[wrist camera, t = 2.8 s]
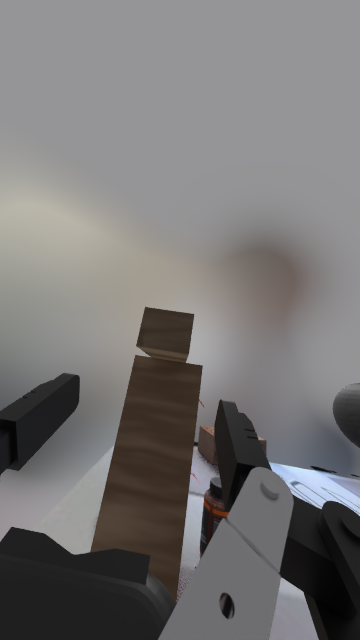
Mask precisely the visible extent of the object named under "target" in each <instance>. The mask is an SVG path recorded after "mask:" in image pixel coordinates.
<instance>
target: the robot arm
mask: <svg viewBox="0 0 360 640" xmlns="http://www.w3.org/2000/svg"><path fill="white" fill-rule="evenodd" d="M79 385H80V378H79V376H78V375H74V374H68V373H63V374H61V375H60V376H58V377H57V378H55V379H54V380H51V381H49V382H46V383H44V384H41V385H39V386H38V387H36V388H34V389H33V390H31V392H29V393H27V394H25V395H24V396H23V397H22V398H20V399H18V400H16V401H15V402H13V403H12V404H11V405H9V406H7V407H6V408H4V409H3V410H1V411H0V475H1V473H3V472H4V471H5V470H6V469H12V470H17V471H19V470H20V469H21V468H22V467H23V466H24V465H25V464H26V462H27V461H28V460H29V459H30V458H31V457H32V456H33V455H34V454H35V453H36V452H37V451H38V450H39V449H40V447H41V446H42V445H43V444H44V443H45V442H46V441H47V440H48V439H49V438H50V437H51V436H52V435H53V434H54V432H55V431H56V430H57V429H58V428H59V427H60V426H61V425H62V424H63V423H64V422H65V421H66V419H67V418H68V417H69V416H70V415H71V414H72V413H73V412H74V411H75V409H76V408H77V405H78V403H79V387H80V386H79ZM333 414H334V418H335V420H336V423H337V424H338V426H339V428H340V430H341V431H342V432H343V434H344V435H345V436H346V437H347V438H348V439H349V440H350V441H351V442H352V443H354V444H355V445H356V446H357V447H359V448H360V383H356V384H351V385H349V386H347V387H345V388H343V389H342V390H341V391H340V392H339V393H338V394H337V396H336V397H335V400H334V403H333ZM214 438H215V445H216V452H217V459H218V466H219V473H220V480H221V488H222V495H223V502H224V509H225V512H229V514H228V516H227V518H225V517H224V518H223V519H222V520H221V522H220V524H219V526H218V527H217V529H216V531H215V533H214V535H213V537H212V539H211V541H210V542H209V544H208V546H207V548H206V550H205V552H204V554H203V556H202V558H201V559H200V561H199V563H198V565H197V567H196V569H195V571H194V573H193V575H192V576H191V578H190V580H189V582H188V584H187V586H186V588H185V590H184V592H183V593H182V595H181V597H180V599H179V601H178V603H177V604H176V603H175V601H174V599H173V597H172V596H171V594H170V592H169V591H168V590H167V589H166V587H165V586H164V585H163V583H162V582H161V581H160V580H159V579H158V578H157V577H156V576H154V575H153V574H152V573H150V572H149V571H148V568H149V562H150V555H146V554H141V553H136V552H131V551H126V550H122V549H117V548H114V549H108V550H102V551H96V552H90V553H85V554H79V555H74V554H71V553H70V552H68V551H67V550H66V549H64V548H63V547H62V546H60V545H59V544H58V543H56V542H55V541H54V540H53V539H51V538H50V537H49V536H47V535H46V534H44V533H39V532H34V531H29V530H24V529H20V528H15V527H11V529H10V530H9V531H8V532H7V534H6V535H5V536H4V538H3V539H2V540H1V542H0V640H269V636H270V631H271V626H272V621H273V616H274V611H275V606H276V601H277V596H278V591H279V585H280V579H281V577H282V578H284V579H285V580H287V581H288V582H290V583H291V584H293V585H294V586H296V587H297V588H299V589H300V590H302V591H303V592H304V595H305V598H306V601H307V604H308V607H309V611H310V614H311V617H312V620H313V623H314V626H315V629H316V632H317V635H318V638H319V640H360V516H359V515H358V514H356V513H355V512H354V511H353V510H351V509H350V508H348V507H346V506H345V505H343V504H341V503H338V502H335V501H327V502H325V503H324V505H323V507H322V510H321V509H319V508H317V507H315V506H313V505H311V504H309V503H307V502H305V501H303V500H301V499H299V498H298V497H296V496H294V495H293V494H292V493H291V491H290V489H289V487H288V486H287V484H286V483H285V482H284V481H283V479H282V478H280V477H279V476H278V475H277V474H276V473H274V472H273V471H272V469H271V467H270V465H269V462H268V460H267V457H266V455H265V453H264V450H263V448H262V446H261V443H260V441H259V440H258V436H257V434H256V432H255V429H254V427H253V425H252V422H251V421H250V420H249V419H248V418H247V416H246V415H245V414H244V413H239V412H238V409H237V407H236V404H235V402H233V401H227V400H220V401H219V406H218V410H217V415H216V420H215V426H214Z"/></svg>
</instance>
